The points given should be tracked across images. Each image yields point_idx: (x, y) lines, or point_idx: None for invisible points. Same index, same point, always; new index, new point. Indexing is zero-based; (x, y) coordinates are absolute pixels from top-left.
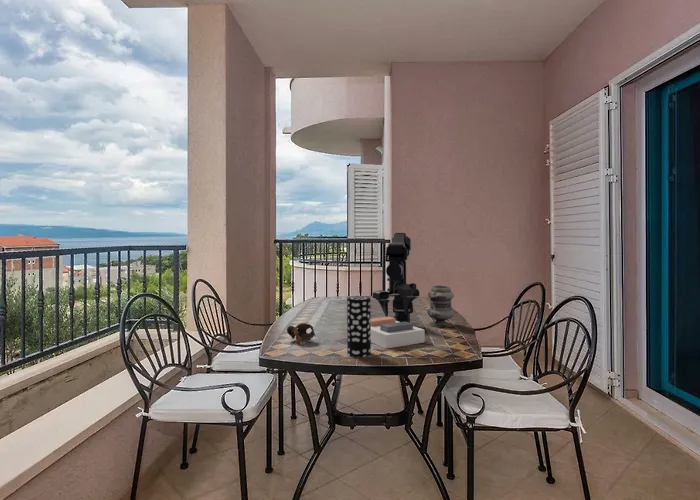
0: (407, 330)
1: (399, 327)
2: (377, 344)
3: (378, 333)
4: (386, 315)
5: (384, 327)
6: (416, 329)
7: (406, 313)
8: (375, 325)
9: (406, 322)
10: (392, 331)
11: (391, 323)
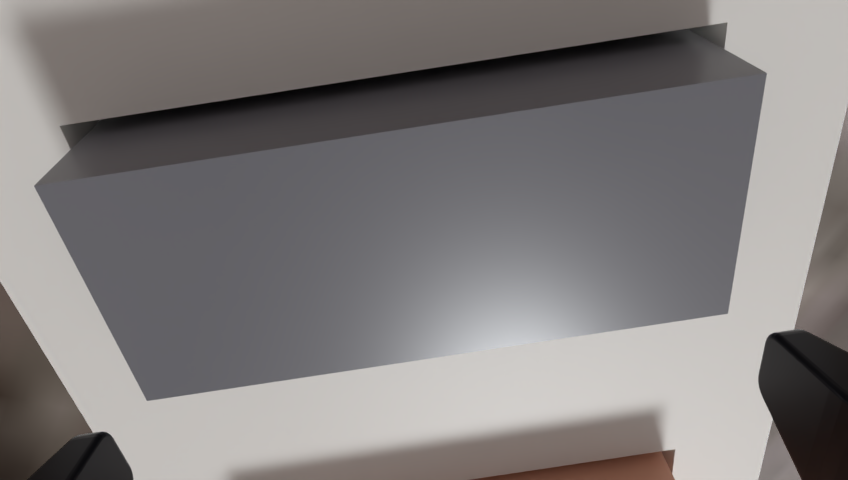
0: (245, 43)
1: (419, 110)
2: None
3: (836, 91)
4: (833, 351)
5: (735, 171)
6: (12, 58)
7: (92, 447)
8: (595, 470)
9: (151, 331)
10: (587, 61)
11: (482, 338)
